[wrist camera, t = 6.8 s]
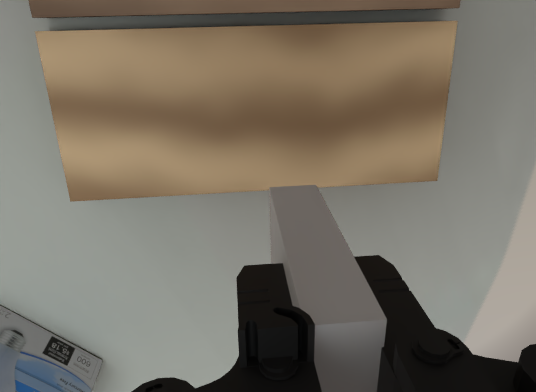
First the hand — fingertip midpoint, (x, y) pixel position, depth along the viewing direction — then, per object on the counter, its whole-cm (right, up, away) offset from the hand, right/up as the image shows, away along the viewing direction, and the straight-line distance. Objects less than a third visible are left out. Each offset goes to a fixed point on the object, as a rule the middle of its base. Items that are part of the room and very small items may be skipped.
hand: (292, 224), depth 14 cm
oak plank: (-2, +7, +14) cm, 16 cm away
